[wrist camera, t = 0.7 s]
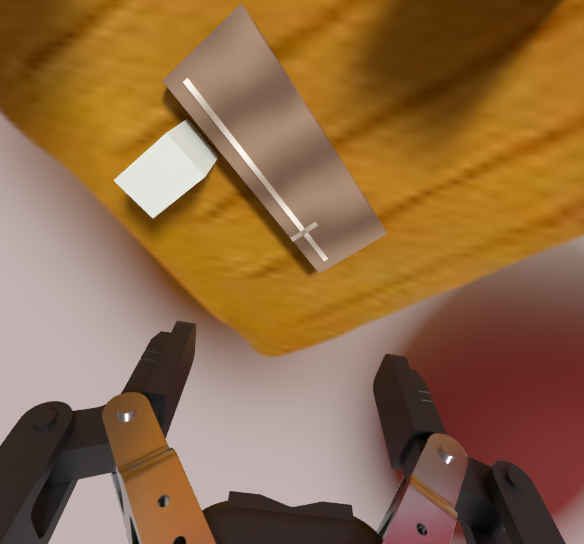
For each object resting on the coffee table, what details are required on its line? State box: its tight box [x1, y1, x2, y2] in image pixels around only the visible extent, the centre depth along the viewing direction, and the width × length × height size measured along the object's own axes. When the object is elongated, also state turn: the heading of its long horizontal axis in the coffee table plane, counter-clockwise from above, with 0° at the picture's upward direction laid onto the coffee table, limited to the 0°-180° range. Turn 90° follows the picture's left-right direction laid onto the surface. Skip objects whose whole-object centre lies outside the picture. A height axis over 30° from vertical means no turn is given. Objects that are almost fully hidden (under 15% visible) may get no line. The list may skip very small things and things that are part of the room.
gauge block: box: [114, 119, 219, 218], centre depth 29 cm, size 4×6×6 cm, turn 126°
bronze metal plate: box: [163, 4, 387, 273], centre depth 31 cm, size 22×8×2 cm, turn 36°
